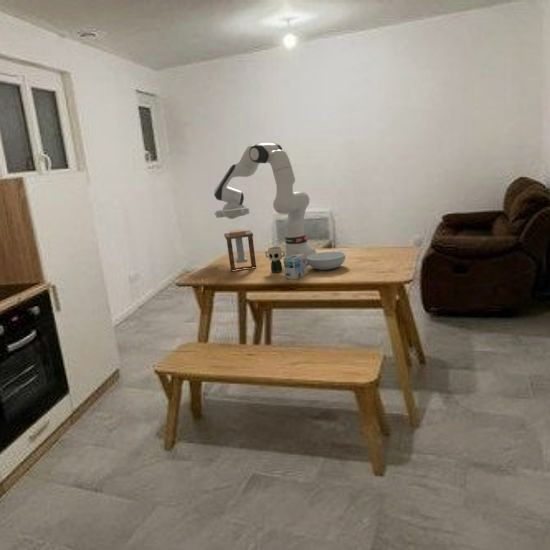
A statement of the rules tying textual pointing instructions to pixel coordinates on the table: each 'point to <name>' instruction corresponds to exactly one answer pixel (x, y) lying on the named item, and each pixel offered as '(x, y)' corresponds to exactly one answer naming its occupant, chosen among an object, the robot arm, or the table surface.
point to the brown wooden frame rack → (230, 250)
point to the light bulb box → (295, 266)
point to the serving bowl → (326, 260)
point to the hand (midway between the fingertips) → (233, 213)
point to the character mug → (275, 258)
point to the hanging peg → (239, 245)
